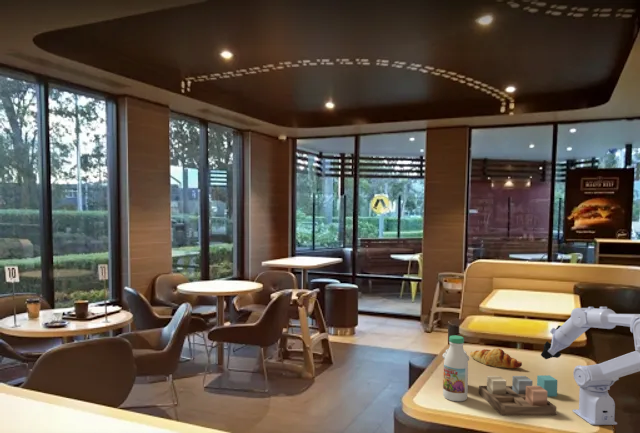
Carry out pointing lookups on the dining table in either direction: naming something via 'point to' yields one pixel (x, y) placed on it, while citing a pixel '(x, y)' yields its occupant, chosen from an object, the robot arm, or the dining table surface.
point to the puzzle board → (516, 396)
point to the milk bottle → (455, 371)
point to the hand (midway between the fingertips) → (548, 349)
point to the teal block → (547, 384)
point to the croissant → (495, 358)
